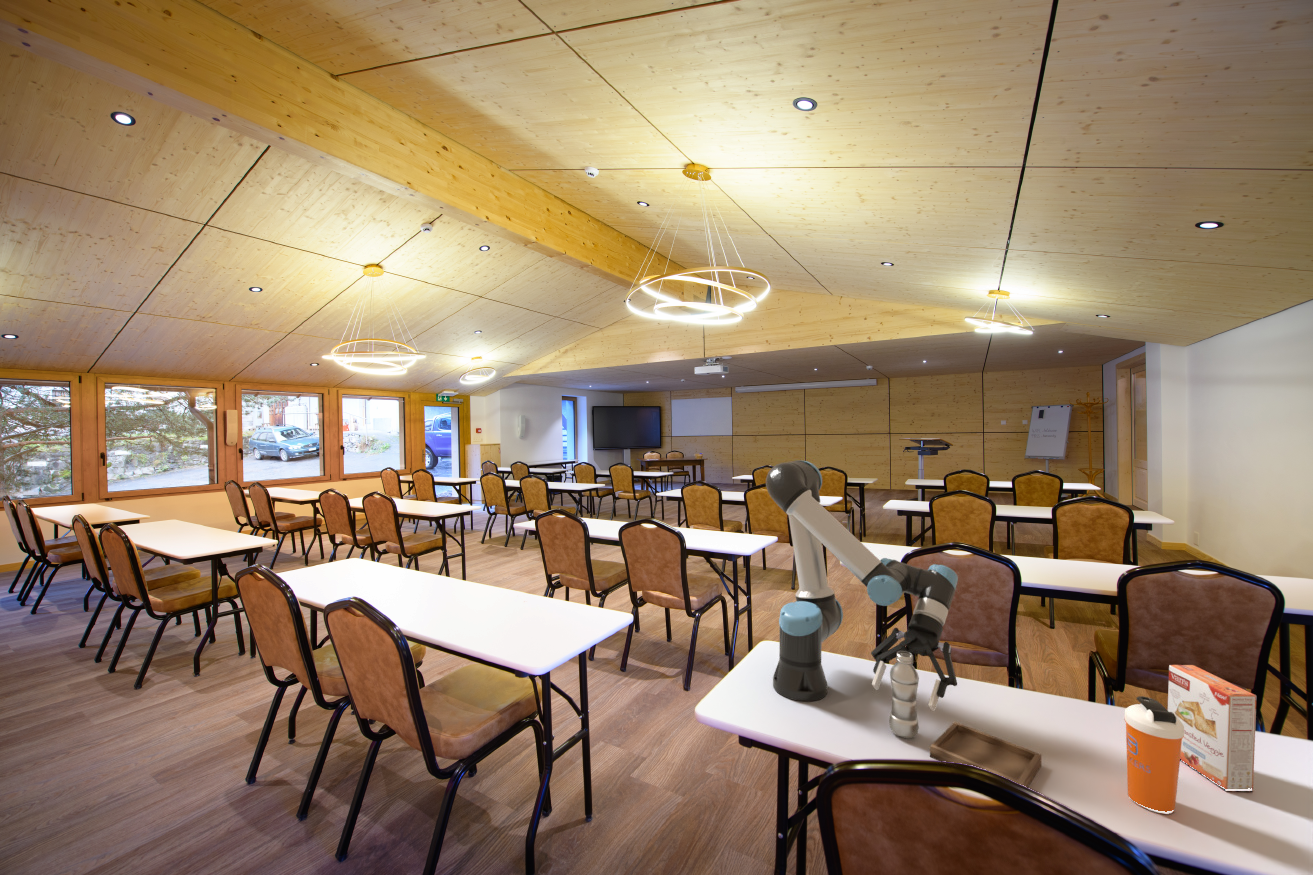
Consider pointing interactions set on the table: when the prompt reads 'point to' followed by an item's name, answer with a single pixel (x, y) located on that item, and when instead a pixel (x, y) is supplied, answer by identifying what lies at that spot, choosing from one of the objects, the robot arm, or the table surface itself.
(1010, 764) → the walnut tray
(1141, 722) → the shaker bottle
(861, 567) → the robot arm
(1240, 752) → the cracker box
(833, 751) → the table surface
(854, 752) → the table surface
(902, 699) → the plastic bottle
